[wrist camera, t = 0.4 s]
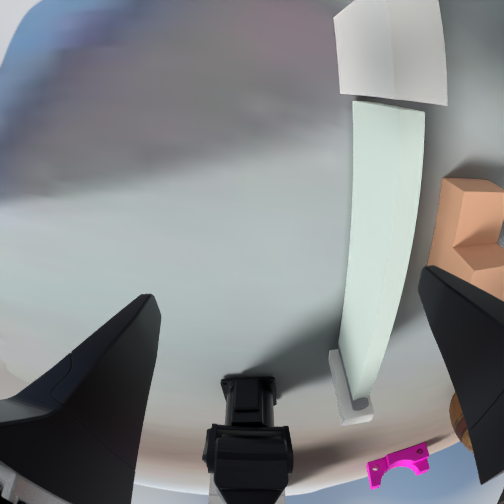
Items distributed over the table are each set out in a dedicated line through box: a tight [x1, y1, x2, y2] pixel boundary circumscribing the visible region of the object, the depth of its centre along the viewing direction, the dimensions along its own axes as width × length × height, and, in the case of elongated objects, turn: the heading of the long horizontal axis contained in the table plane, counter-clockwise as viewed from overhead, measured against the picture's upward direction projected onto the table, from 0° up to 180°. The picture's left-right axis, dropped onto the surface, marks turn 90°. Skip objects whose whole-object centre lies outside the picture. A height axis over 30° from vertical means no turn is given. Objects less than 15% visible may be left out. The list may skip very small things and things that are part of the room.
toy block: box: [367, 442, 429, 489], centre depth 52 cm, size 15×6×8 cm, turn 103°
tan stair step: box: [427, 178, 504, 301], centre depth 21 cm, size 10×6×7 cm, turn 5°
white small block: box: [328, 0, 447, 426], centre depth 20 cm, size 33×3×9 cm, turn 5°
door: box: [337, 101, 425, 411], centre depth 21 cm, size 25×3×8 cm, turn 5°
